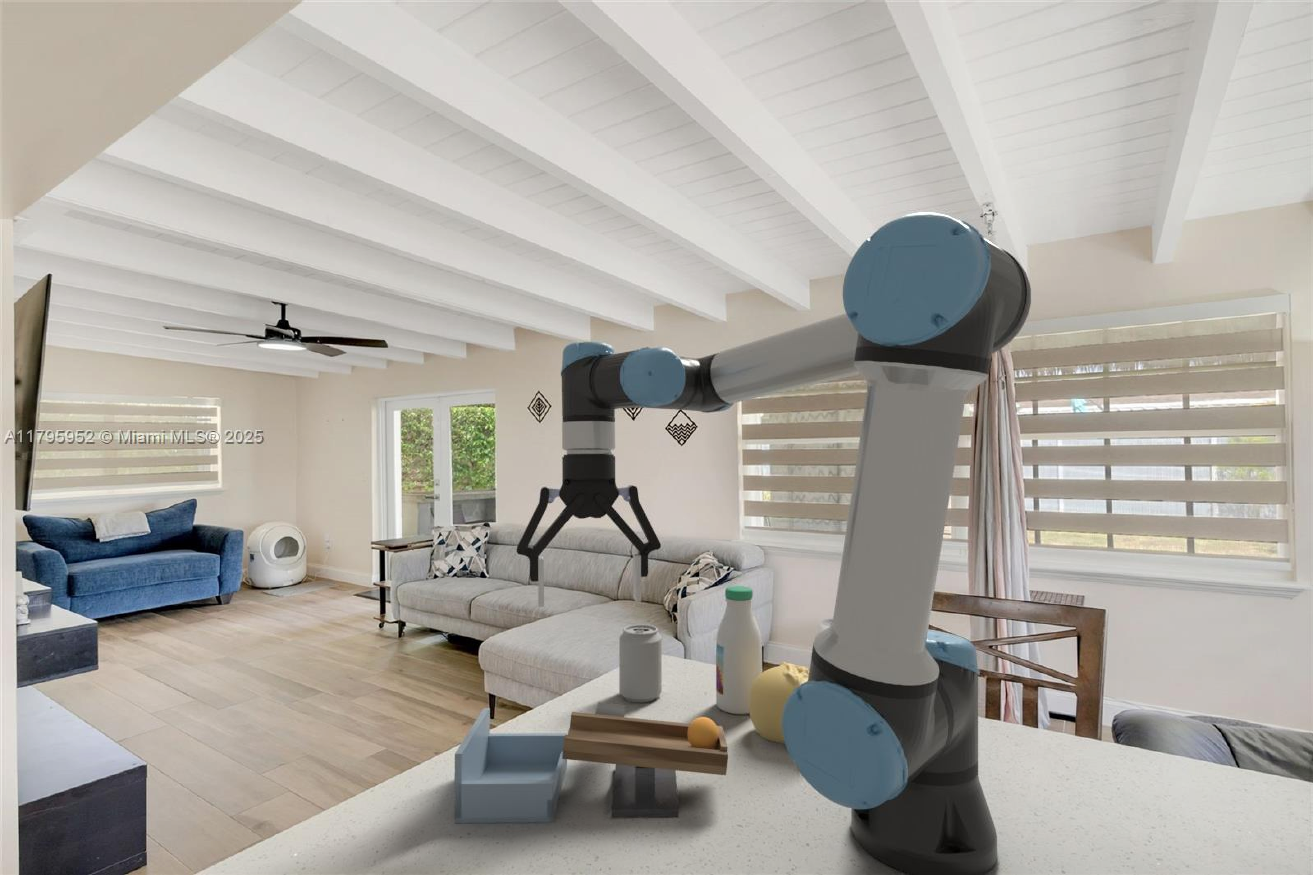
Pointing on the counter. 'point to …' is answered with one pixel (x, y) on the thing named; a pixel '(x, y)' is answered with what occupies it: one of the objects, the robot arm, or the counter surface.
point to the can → (640, 663)
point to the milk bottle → (737, 652)
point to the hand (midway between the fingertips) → (589, 602)
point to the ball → (703, 733)
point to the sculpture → (774, 698)
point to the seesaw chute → (639, 742)
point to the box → (507, 775)
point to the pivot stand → (644, 793)
